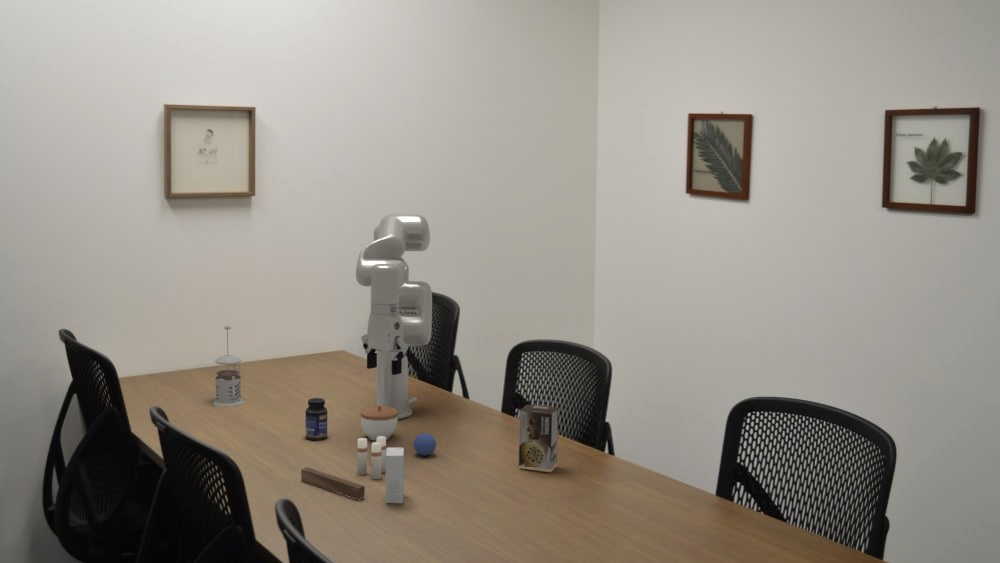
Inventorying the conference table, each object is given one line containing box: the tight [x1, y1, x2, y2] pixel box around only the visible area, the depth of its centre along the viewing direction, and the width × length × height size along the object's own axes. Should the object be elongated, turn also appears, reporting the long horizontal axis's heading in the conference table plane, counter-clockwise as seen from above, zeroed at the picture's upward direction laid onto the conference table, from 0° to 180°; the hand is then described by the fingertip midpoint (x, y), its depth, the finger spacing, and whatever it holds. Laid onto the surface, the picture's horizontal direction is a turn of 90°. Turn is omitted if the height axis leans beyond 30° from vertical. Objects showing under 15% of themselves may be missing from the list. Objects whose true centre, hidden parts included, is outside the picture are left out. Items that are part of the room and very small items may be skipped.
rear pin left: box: [370, 441, 382, 480], centre depth 243 cm, size 2×2×9 cm
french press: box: [212, 325, 245, 407], centre depth 306 cm, size 10×12×25 cm
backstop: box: [300, 466, 366, 500], centre depth 235 cm, size 2×20×3 cm, turn 53°
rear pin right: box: [356, 437, 368, 475], centre depth 246 cm, size 2×2×9 cm
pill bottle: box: [305, 397, 328, 441], centre depth 274 cm, size 6×6×11 cm
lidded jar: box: [359, 405, 399, 442], centre depth 276 cm, size 11×11×9 cm
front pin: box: [376, 436, 387, 473], centre depth 248 cm, size 2×2×9 cm
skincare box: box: [385, 447, 405, 504], centre depth 229 cm, size 6×4×12 cm
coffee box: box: [518, 404, 559, 469], centre depth 253 cm, size 9×6×16 cm
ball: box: [413, 432, 437, 456], centre depth 262 cm, size 6×6×6 cm
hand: (384, 371), depth 264 cm, fingers open, 9 cm apart
